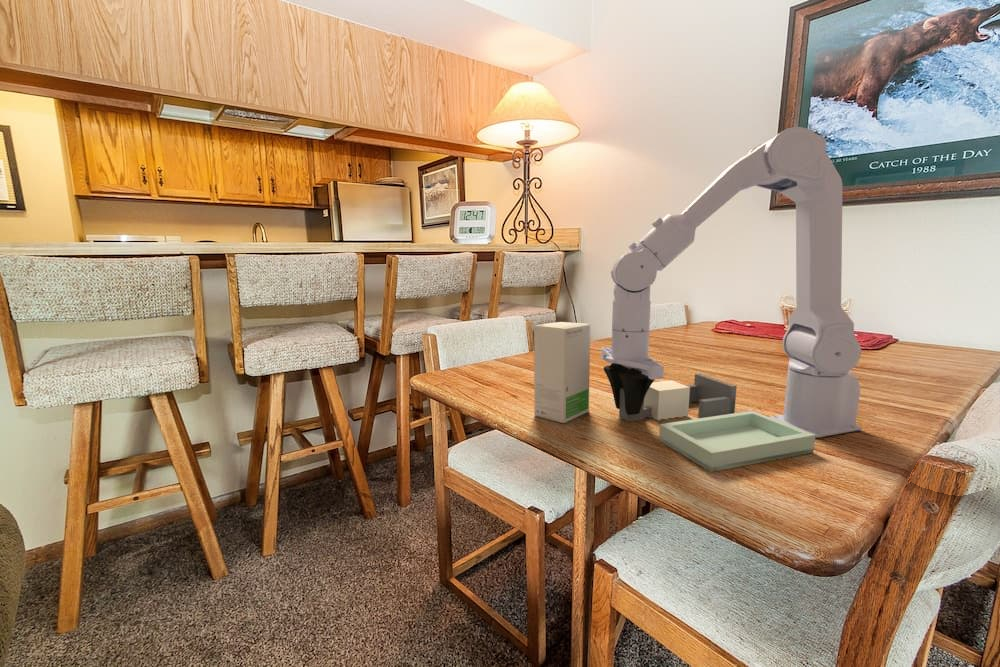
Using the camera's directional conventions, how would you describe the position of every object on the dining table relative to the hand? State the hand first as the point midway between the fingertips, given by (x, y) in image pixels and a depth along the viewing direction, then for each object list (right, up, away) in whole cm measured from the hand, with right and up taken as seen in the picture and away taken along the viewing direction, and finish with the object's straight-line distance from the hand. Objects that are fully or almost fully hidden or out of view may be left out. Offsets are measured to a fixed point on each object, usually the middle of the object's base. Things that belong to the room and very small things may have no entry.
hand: (627, 410), depth 71 cm
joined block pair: (+4, -1, +2) cm, 5 cm away
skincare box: (-10, -1, +3) cm, 11 cm away
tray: (+12, -3, -11) cm, 16 cm away
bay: (+14, 0, +4) cm, 15 cm away
